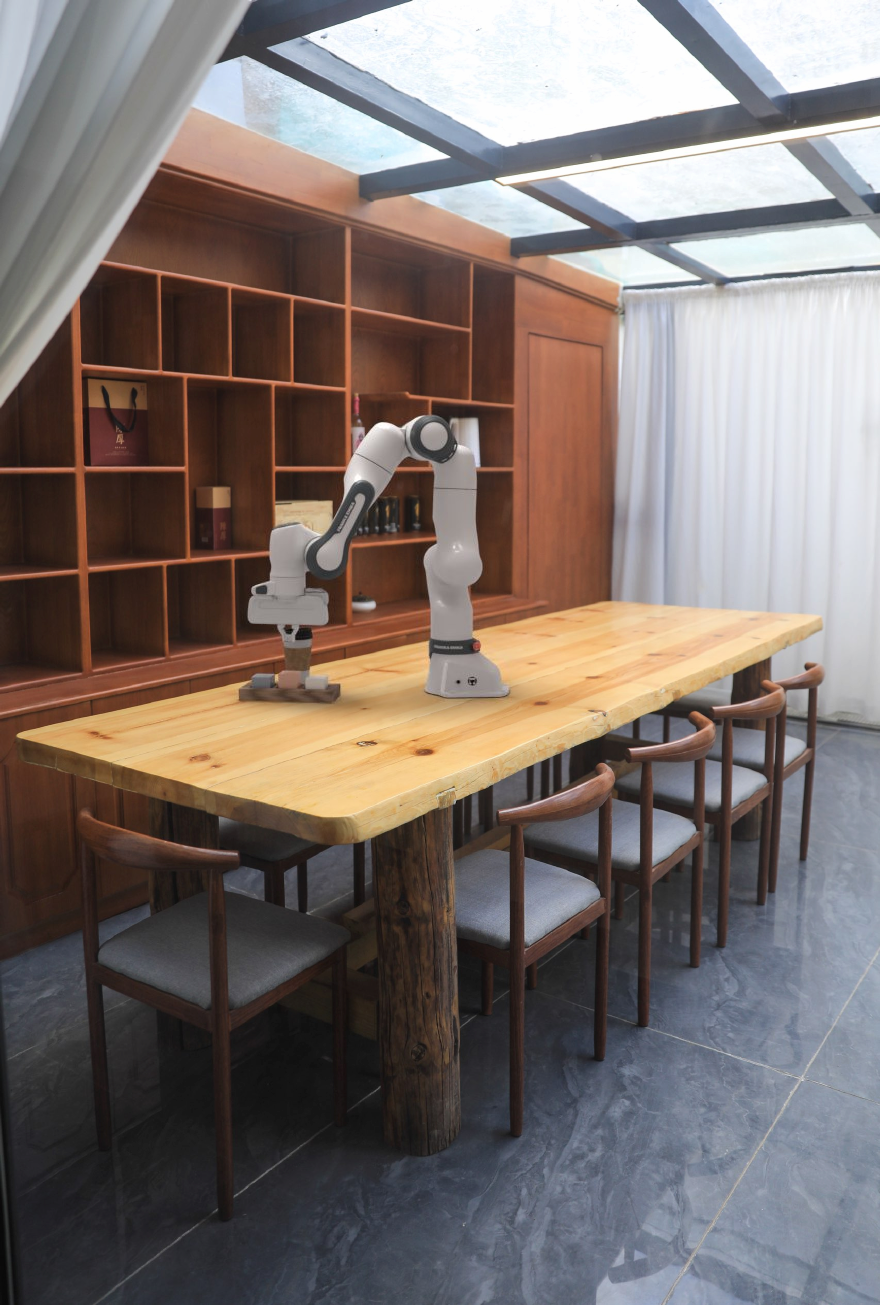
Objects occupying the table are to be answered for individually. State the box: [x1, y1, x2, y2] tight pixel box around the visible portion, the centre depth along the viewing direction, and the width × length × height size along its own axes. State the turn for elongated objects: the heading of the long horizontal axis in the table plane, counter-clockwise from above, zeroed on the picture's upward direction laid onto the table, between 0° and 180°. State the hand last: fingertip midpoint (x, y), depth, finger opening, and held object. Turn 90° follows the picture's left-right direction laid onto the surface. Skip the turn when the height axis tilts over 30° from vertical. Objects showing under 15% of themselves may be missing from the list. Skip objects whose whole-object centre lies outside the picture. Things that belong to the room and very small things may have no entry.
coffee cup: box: [282, 627, 314, 683], centre depth 279 cm, size 8×8×15 cm
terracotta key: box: [277, 669, 302, 689], centre depth 260 cm, size 5×5×4 cm
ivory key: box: [305, 674, 329, 690], centre depth 259 cm, size 5×5×4 cm
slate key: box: [250, 673, 276, 688], centre depth 261 cm, size 5×5×4 cm
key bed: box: [238, 680, 341, 704], centre depth 260 cm, size 24×10×3 cm, turn 84°
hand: (288, 641), depth 258 cm, fingers closed
